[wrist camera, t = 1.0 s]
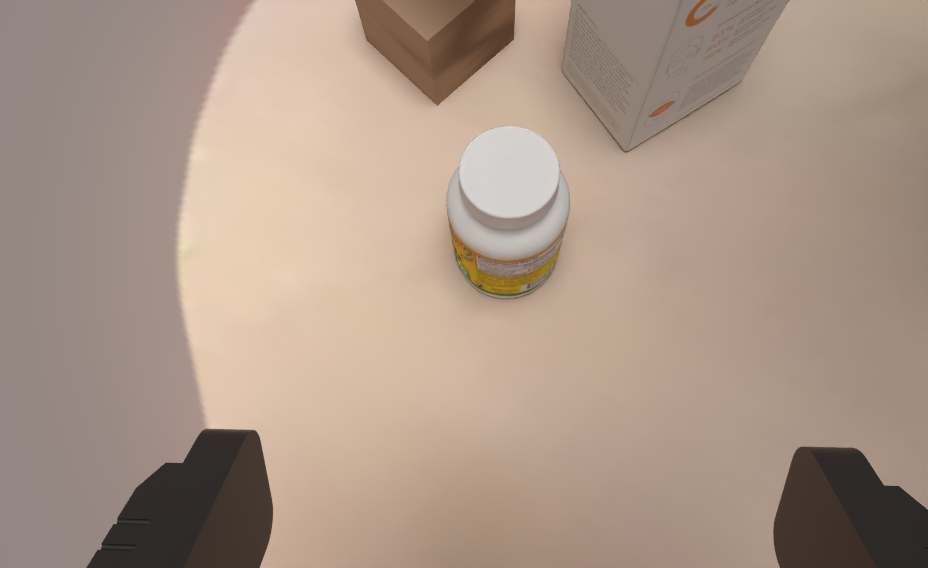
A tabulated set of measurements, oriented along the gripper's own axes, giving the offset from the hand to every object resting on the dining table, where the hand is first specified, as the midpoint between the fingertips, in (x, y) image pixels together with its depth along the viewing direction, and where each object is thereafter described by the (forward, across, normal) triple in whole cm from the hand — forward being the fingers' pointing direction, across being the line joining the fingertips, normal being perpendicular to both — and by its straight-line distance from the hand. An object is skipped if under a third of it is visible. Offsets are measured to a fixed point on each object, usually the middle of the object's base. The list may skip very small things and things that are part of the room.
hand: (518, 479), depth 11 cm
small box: (+32, -8, +1) cm, 33 cm away
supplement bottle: (+25, 0, +8) cm, 26 cm away
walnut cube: (+34, +4, -1) cm, 34 cm away
